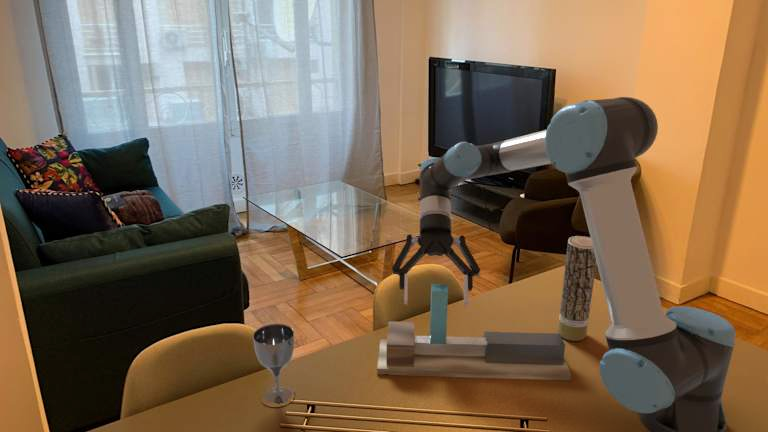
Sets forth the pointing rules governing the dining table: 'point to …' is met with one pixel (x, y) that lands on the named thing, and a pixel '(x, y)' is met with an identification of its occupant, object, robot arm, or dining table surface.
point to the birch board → (470, 367)
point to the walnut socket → (400, 344)
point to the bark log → (577, 288)
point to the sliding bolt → (438, 326)
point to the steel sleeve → (524, 348)
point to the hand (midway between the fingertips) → (435, 303)
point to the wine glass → (275, 355)
